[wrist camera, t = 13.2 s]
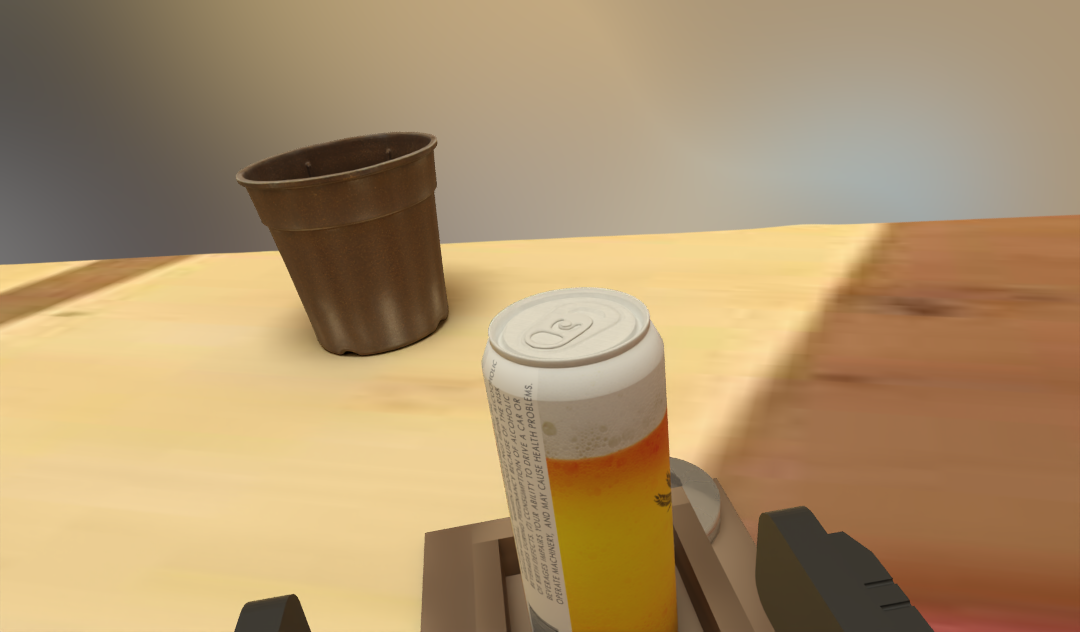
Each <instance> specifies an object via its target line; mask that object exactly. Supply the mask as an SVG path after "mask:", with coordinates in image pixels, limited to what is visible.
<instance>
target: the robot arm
mask: <svg viewBox="0 0 1080 632" xmlns="http://www.w3.org/2000/svg"><path fill="white" fill-rule="evenodd" d="M755 581H756V587H757V591H758V595H759V599H760V602H761V604H762V607H763V609H764V611H765V613H766V615H767V617H768V619H769V621H770V623H771V625H772V627H773V628H774V630H775V632H934V631H933V629H932V628H931V627H930V626H929V624H928V623H927V622H926V620H925V619H924V618H923V617H922V615H921V614H920V613H919V612H918V610H917V609H916V608H915V606H911V604H910V600H909V599H908V597H907V596H906V595H905V594H904V592H903V591H902V590H901V589H900V587H899V586H898V585H897V584H894V582H893V578H892V577H891V576H890V574H889V573H888V572H887V571H886V569H885V568H884V567H883V565H882V564H881V563H880V562H879V560H878V559H877V558H876V557H875V555H874V554H873V553H872V552H871V551H870V550H868V549H867V548H866V547H864V546H863V545H861V544H860V543H858V542H857V541H856V540H854V539H853V538H851V537H850V536H849V535H847V534H846V533H844V532H843V531H842V532H837V533H831V534H827V532H826V531H825V530H824V528H823V527H822V526H821V524H820V523H819V521H818V520H817V519H816V517H815V516H814V515H813V513H812V512H811V511H810V510H809V509H808V508H807V507H805V506H799V507H794V508H788V509H782V510H777V511H771V512H765V513H762V514H761V515H760V517H759V524H758V538H757V552H756V567H755ZM234 632H311V631H310V628H309V625H308V622H307V620H306V617H305V614H304V612H303V609H302V606H301V604H300V601H299V599H298V597H297V596H296V595H294V594H291V595H285V596H280V597H274V598H268V599H263V600H257V601H251V602H248V603H246V604H245V605H244V607H243V608H242V611H241V613H240V616H239V619H238V622H237V625H236V628H235V631H234Z"/></svg>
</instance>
